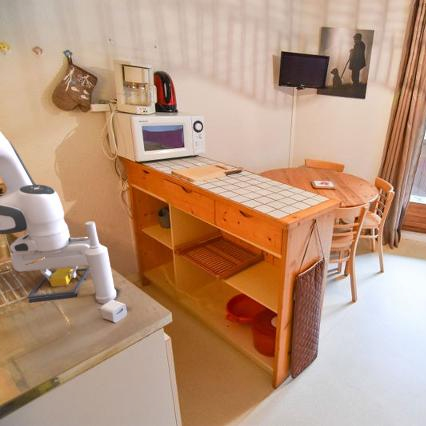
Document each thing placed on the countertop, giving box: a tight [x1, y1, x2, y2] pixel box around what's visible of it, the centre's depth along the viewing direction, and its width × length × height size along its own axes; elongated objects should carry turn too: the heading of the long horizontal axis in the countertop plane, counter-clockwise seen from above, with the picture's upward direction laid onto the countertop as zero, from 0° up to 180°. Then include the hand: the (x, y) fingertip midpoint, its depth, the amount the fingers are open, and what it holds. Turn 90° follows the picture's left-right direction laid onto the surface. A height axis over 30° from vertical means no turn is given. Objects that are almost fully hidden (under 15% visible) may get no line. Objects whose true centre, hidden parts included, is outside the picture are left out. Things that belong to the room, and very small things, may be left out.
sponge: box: [49, 267, 73, 288], centre depth 98 cm, size 6×4×4 cm, turn 19°
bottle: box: [84, 221, 117, 305], centre depth 90 cm, size 5×5×25 cm
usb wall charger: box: [97, 299, 128, 323], centre depth 88 cm, size 4×7×4 cm, turn 71°
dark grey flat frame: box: [27, 267, 90, 304], centre depth 98 cm, size 11×13×2 cm
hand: (62, 278), depth 98 cm, fingers closed on sponge, 4 cm apart
